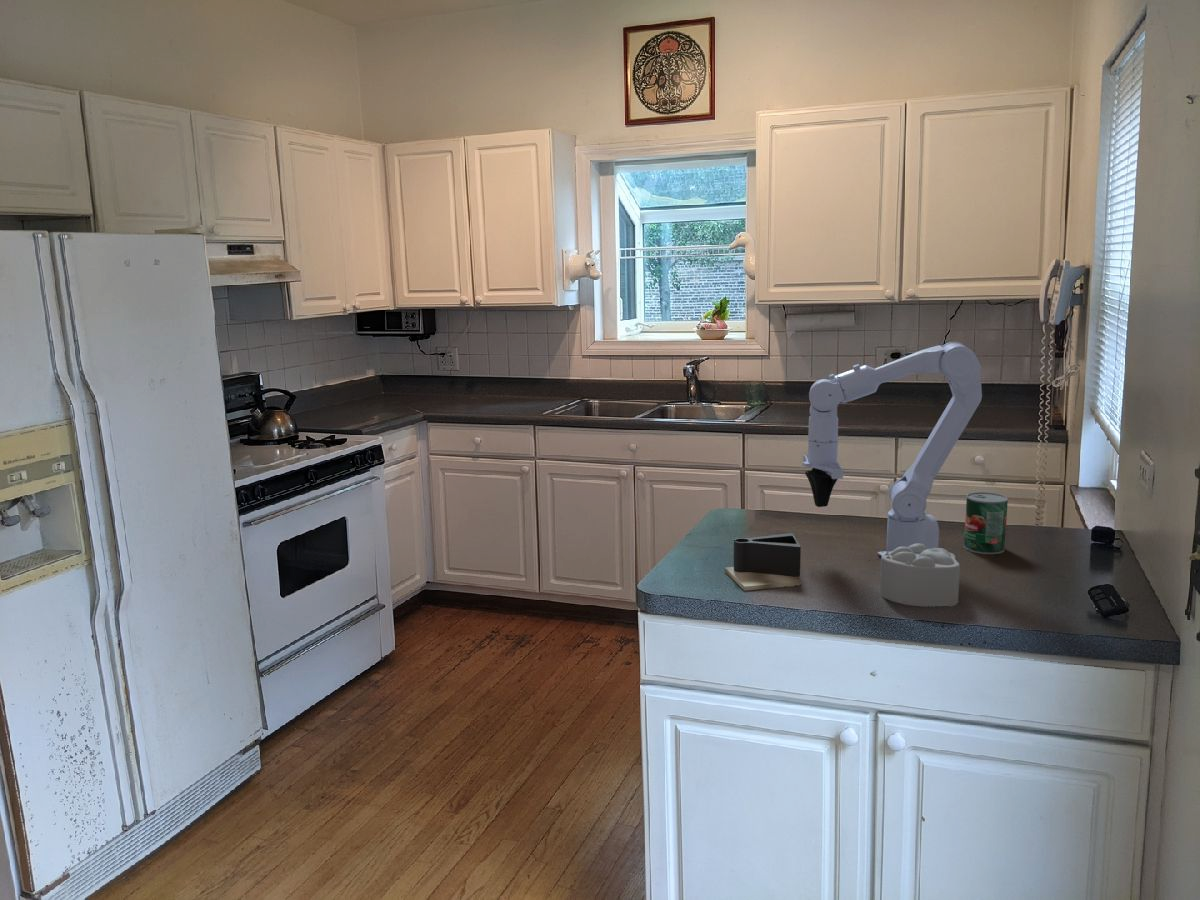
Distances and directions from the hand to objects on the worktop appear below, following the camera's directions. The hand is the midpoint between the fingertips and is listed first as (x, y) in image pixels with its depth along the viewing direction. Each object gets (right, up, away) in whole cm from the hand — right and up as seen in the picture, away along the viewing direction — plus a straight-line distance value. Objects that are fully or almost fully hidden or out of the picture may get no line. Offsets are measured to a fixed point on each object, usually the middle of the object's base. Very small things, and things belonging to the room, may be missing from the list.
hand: (821, 505), depth 189 cm
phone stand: (-7, -9, -9) cm, 14 cm away
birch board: (-14, -13, -11) cm, 22 cm away
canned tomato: (+35, -9, +4) cm, 36 cm away
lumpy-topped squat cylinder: (+12, -15, -21) cm, 29 cm away
